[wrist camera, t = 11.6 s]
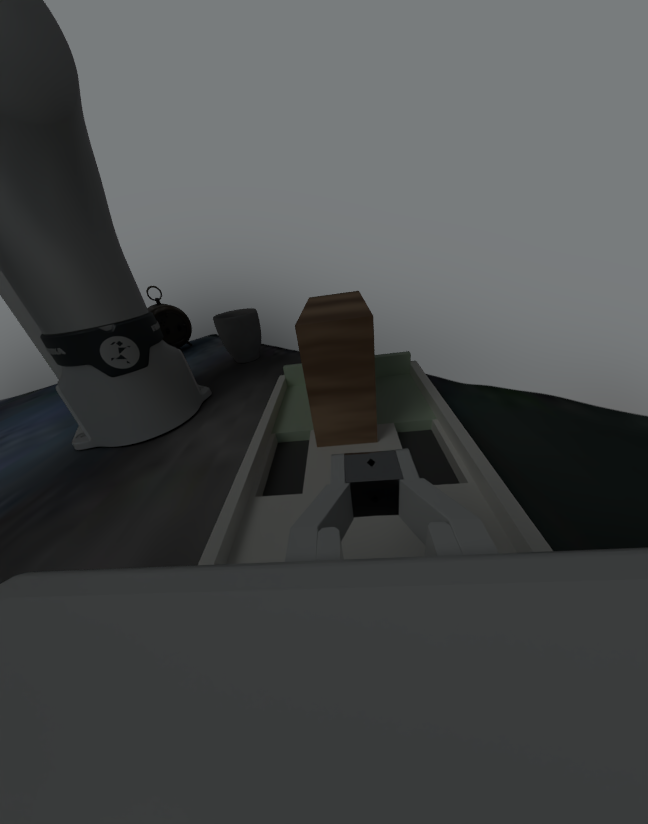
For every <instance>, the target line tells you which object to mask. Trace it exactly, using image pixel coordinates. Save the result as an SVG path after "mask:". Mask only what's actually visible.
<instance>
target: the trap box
mask: <svg viewBox="0 0 648 824" xmlns="http://www.w3.org/2000/svg"><path fill="white" fill-rule="evenodd" d="M410 357H411V355H410V352H409V351H408V352H400V353H390V354H381V355H375V383H376V411H377V439H378V442H376V443H364V444H352V445H339V446H327V447H317V444H316V439H315V433H314V428H313V422H312V417H311V411H310V406H309V400H308V395H307V389H306V384H305V378H304V373H303V367H302V364H293V365H284V367H283V370H284V375H280V376H279V378H278V381H277V383H276V385H275V388H274V390H273V392H272V394H271V397H270V399H269V401H268V404H267V406H266V408H265V411H264V413H263V415H262V418H261V420H260V422H259V425H258V427H257V429H256V432H255V434H254V436H253V438H252V441H251V443H250V445H249V448H248V450H247V452H246V455H245V457H244V459H243V462H242V464H241V466H240V469H239V471H238V473H237V475H236V478H235V480H234V482H233V485H232V487H231V489H230V492H229V494H228V496H227V499H226V501H225V503H224V506H223V508H222V510H221V513H220V515H219V517H218V519H217V522H216V524H215V526H214V529H213V531H212V533H211V536H210V538H209V540H208V543H207V545H206V547H205V550H204V552H203V554H202V556H201V559H200V561H199V563H198V565H218V564H243V563H268V562H285V557H286V551H287V545H288V539H289V533H290V528H291V527H292V525H293V524H294V523H295V522H296V521H297V519H298V518H299V517H300V516H301V515H302V514H303V512H304V511H305V510H306V509H307V508H308V506H309V505H310V504H311V503H312V502H313V500H314V499H315V498H316V497H317V496H318V494H319V493H320V492H321V491H322V490H323V488H324V487H325V486H326V485H328V484H330V478H331V455H332V454H344V453H359V452H375V451H387V450H395V449H406V448H408V449H409V451H410V454H411V456H412V459H413V462H414V464H415V467H416V470H417V472H418V475H419V478H424V479H426V480H427V481H428V482H430V483H431V484H433V485H434V486H435V487H437V488H438V489H440V490H441V491H442V492H444V493H445V494H447V495H448V496H449V497H451V498H452V499H454V500H455V501H456V502H458V503H459V504H461V505H462V506H463V507H465V508H466V509H467V510H469V511H470V512H472V513H473V514H474V515H476V516H477V517H479V518H480V519H481V521H482V523H483V524H484V526H485V528H486V530H487V532H488V534H489V536H490V538H491V539H492V541H493V543H494V545H495V547H496V549H497V551H498V552H499V553H522V552H547V551H553V550H552V549H551V547H550V546H549V545H548V543H547V542H546V540H545V539H544V538H543V536H542V535H541V534H540V532H539V531H538V529H537V528H536V527H535V525H534V524H533V522H532V521H531V520H530V518H529V517H528V516H527V514H526V513H525V511H524V510H523V509H522V507H521V506H520V504H519V503H518V502H517V500H516V499H515V498H514V496H513V495H512V493H511V492H510V491H509V489H508V488H507V486H506V485H505V484H504V482H503V481H502V480H501V478H500V477H499V475H498V474H497V473H496V471H495V470H494V468H493V467H492V466H491V464H490V463H489V461H488V460H487V459H486V457H485V456H484V455H483V453H482V452H481V450H480V449H479V448H478V446H477V445H476V443H475V442H474V441H473V439H472V438H471V437H470V435H469V434H468V432H467V431H466V430H465V428H464V427H463V425H462V424H461V423H460V421H459V420H458V419H457V417H456V416H455V414H454V413H453V412H452V410H451V409H450V407H449V406H448V405H447V403H446V402H445V401H444V399H443V398H442V396H441V395H440V394H439V392H438V391H437V389H436V388H435V387H434V385H433V384H432V383H431V381H430V380H429V378H428V377H427V376H426V374H425V373H424V372H423V370H422V369H421V367H420V366H419V364H418V363H417V362H416V361H410ZM341 545H342V551H343V558H344V560H345V559H371V558H396V557H421V556H425V547H426V546H425V545H424V544H423V543H422V541H421V540H420V539H419V538H418V537H417V536H416V535H415V534H414V533H413V531H412V530H411V529H410V528H409V527H408V526H407V525H406V524H405V523H404V521H403V520H402V519H401V518H400V517H399V515H385V516H367V517H354V519H353V521H352V523H351V525H350V527H349V528H348V530H347V532H346V534H345V536H344V538H343V539H342V541H341Z"/></svg>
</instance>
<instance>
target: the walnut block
mask: <svg viewBox="0 0 648 824" xmlns="http://www.w3.org/2000/svg"><path fill="white" fill-rule="evenodd" d="M373 328H374V327H373V315H372V313H371V311H370V310H369V308H368V306H367V305H366V303H365V301H364V299H363V298H362V296H361V294H360V292H359V291H354V292H347V293H340V294H332V295H325V296H318V297H310V298H309V299H308V301H307V303H306V305H305V307H304V309H303V311H302V313H301V315H300V317H299V319H298V321H297V323H296V325H295V329H296V334H297V340H298V346H299V351H300V357H301V362H302V367H303V373H304V378H305V384H306V389H307V395H308V400H309V406H310V411H311V417H312V422H313V428H314V433H315V439H316V444H317V447H327V446H339V445H352V444H364V443H376V442H378V439H377V411H376V383H375V355H374V329H373Z"/></svg>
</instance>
